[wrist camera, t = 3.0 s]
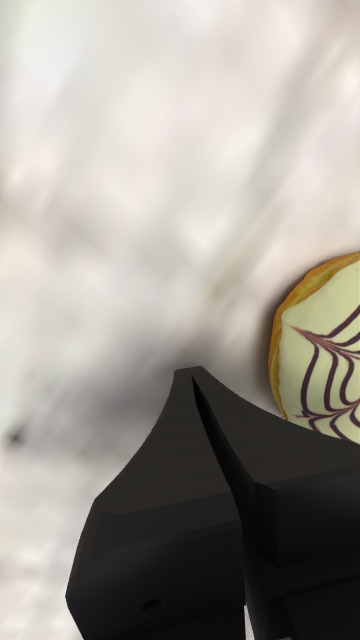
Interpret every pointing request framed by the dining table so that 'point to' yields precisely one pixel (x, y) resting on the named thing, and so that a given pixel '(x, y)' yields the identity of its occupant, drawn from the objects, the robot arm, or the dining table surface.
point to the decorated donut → (320, 350)
